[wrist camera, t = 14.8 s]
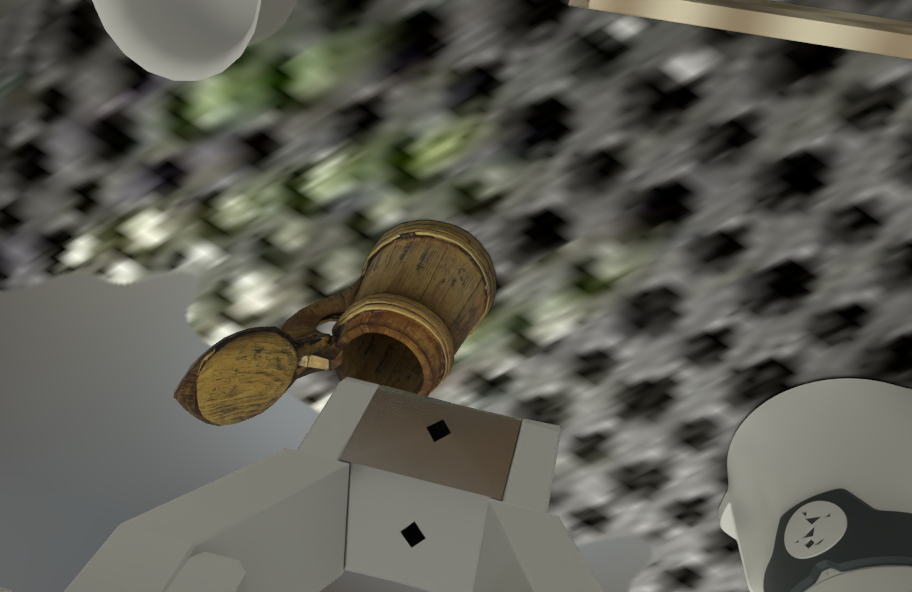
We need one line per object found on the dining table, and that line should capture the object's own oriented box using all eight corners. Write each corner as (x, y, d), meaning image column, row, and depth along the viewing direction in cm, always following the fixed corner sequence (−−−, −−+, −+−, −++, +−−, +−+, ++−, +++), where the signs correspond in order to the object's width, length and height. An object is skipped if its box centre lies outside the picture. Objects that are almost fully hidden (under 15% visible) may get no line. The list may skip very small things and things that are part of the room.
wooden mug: (313, 186, 51) (167, 321, 36) (509, 239, 50) (443, 402, 35) (303, 298, 56) (170, 460, 41) (482, 349, 54) (413, 536, 39)
